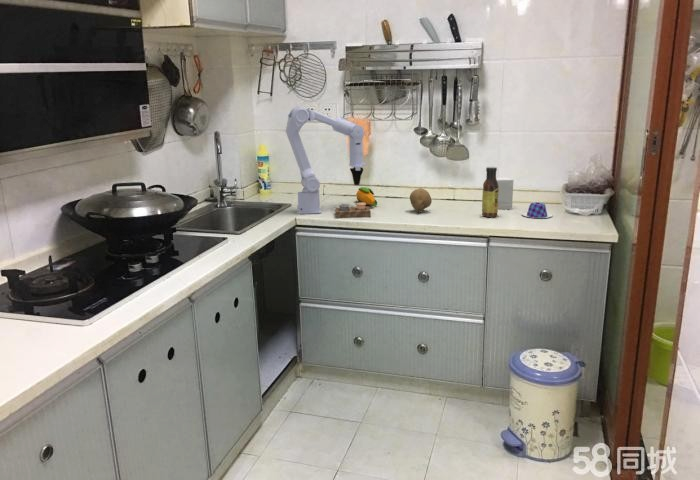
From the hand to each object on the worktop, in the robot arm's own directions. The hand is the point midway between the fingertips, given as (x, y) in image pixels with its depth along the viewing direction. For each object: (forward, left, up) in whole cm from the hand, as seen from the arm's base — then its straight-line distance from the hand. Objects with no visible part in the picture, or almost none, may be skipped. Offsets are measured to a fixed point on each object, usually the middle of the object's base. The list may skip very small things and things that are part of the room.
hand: (356, 184), depth 255 cm
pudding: (+71, -25, -11) cm, 76 cm away
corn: (+5, +7, -11) cm, 14 cm away
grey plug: (-7, -13, -10) cm, 18 cm away
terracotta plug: (+1, -13, -9) cm, 16 cm away
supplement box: (+62, -8, -11) cm, 63 cm away
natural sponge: (+26, -11, -11) cm, 30 cm away
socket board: (-3, -13, -10) cm, 17 cm away
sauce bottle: (+52, -23, -11) cm, 58 cm away
